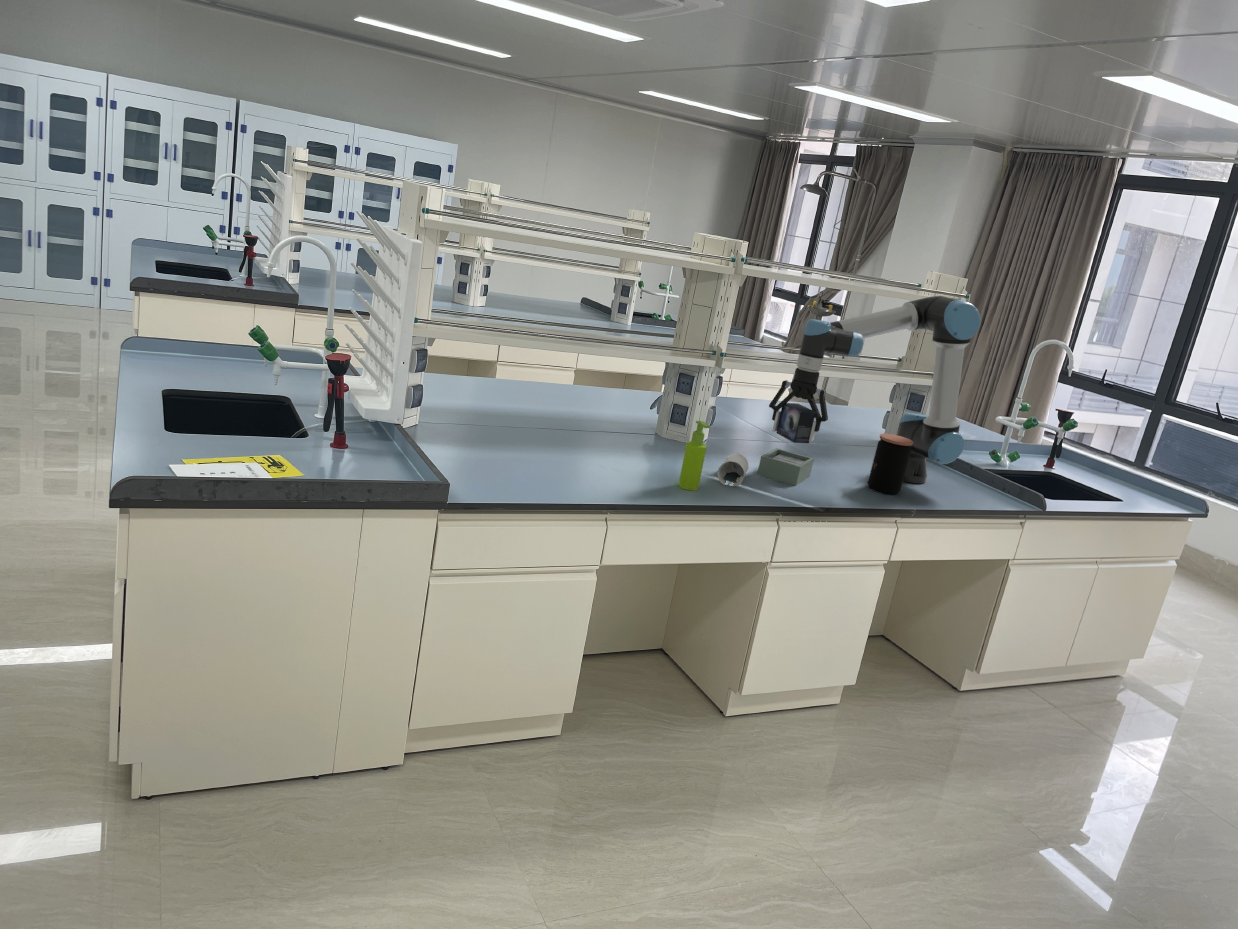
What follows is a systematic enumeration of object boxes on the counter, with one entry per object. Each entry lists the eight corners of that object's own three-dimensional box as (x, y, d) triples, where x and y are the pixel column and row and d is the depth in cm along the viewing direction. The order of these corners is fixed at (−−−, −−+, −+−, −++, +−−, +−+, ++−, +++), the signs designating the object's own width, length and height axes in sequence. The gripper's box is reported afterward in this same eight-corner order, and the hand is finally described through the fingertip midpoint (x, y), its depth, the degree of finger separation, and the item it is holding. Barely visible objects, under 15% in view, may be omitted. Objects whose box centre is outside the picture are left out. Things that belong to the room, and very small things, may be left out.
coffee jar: (874, 483, 297) (887, 432, 292) (904, 493, 291) (918, 441, 286) (861, 487, 289) (874, 435, 284) (891, 497, 283) (906, 444, 278)
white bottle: (748, 475, 281) (753, 451, 278) (740, 489, 263) (746, 464, 261) (724, 469, 282) (729, 445, 280) (715, 483, 265) (720, 458, 262)
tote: (809, 478, 288) (814, 458, 286) (795, 488, 274) (800, 467, 272) (772, 467, 294) (776, 448, 292) (756, 476, 280) (761, 455, 278)
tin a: (802, 475, 288) (806, 460, 286) (797, 479, 282) (800, 464, 281) (777, 468, 291) (780, 453, 290) (771, 471, 286) (774, 456, 284)
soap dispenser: (685, 491, 252) (698, 424, 246) (675, 483, 258) (687, 418, 252) (703, 492, 254) (716, 425, 249) (692, 483, 260) (705, 419, 255)
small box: (774, 433, 284) (781, 401, 281) (791, 434, 286) (798, 403, 283) (792, 442, 274) (800, 410, 272) (809, 443, 277) (817, 411, 274)
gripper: (768, 361, 276) (753, 427, 282) (842, 379, 266) (825, 447, 272) (775, 360, 282) (761, 424, 288) (848, 377, 272) (831, 443, 278)
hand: (792, 435), depth 280 cm, fingers closed on small box, 11 cm apart
